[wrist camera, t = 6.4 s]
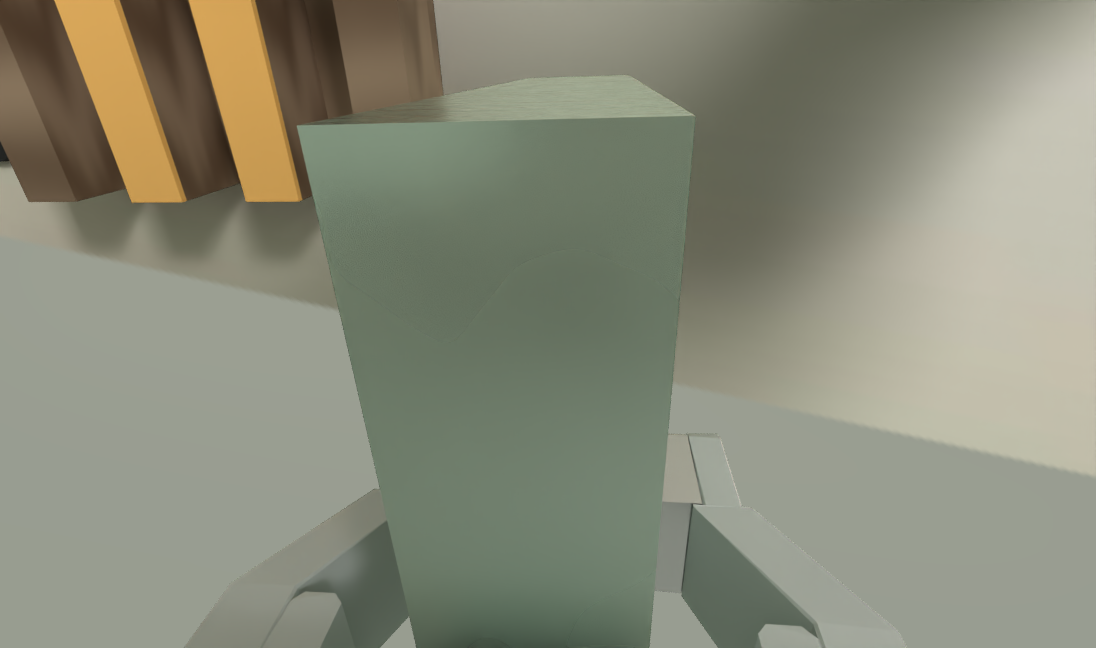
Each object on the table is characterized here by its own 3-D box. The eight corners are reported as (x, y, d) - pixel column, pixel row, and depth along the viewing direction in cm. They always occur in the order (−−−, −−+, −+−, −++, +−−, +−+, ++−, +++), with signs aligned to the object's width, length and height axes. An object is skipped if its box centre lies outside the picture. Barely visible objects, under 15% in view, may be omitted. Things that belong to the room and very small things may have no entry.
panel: (528, 77, 11) (296, 125, 3) (628, 74, 10) (696, 114, 2) (547, 511, 16) (487, 961, 8) (613, 515, 16) (620, 979, 8)
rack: (-31, -188, 23) (-194, -252, 18) (408, -228, 21) (351, -311, 16) (113, 181, 30) (22, 203, 26) (452, 177, 28) (421, 200, 24)
